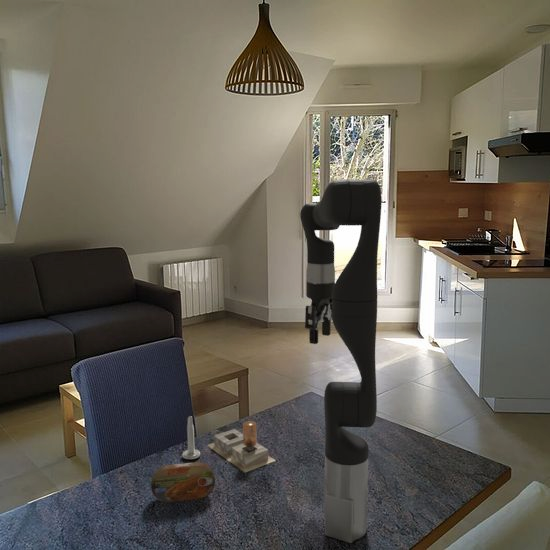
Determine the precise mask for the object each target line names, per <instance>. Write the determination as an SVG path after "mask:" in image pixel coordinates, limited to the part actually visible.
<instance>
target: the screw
mask: <svg viewBox="0 0 550 550" xmlns="http://www.w3.org/2000/svg"><path fill="white" fill-rule="evenodd" d="M193 422H194V421H193V416H191V415H189V416H188V417H187V426H186V431H187V432H186V434H187V435H186V436H187V437H186V438H187V449H186V450H185V451H183V452H182V458H183V459H186V460H189V461H190V460H195V459H198V458H199V457H200V456H201V452H200V450H199V449H195V426H194V424H193Z"/></svg>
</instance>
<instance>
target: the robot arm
mask: <svg viewBox="0 0 550 550" xmlns="http://www.w3.org/2000/svg"><path fill="white" fill-rule="evenodd" d="M382 198H383V197H382V190H381V186H380V184H379V182H378V181H377V180H375V179H364V178H363V179H361V178H360V179H345V178H344V179H343V178H341V179H335V180H333V181H331V182H330V183H328V185H327V186H326V188H325V190H324V192H323V195H322V197H321V200H320V201H318V202H309V203H305V204H304V205H303V206H302V207H301V210H300V215H299V216H300V217H299V218H300V221H301V225H302V229H303V232H304V237H305V240H306V249H307V251H306V252H307V253H306V255H307V256H306V257H307V263H306V270H305V271H306V272H305V273H306V275H305V276H306V278H305V279H306V280H305V282H306V283H305V285H306V286H305V289H306V291H305V295H306V297H307V298H308V299H310V300H311V304H310V305H306V306H305V318H304V319H305V320H304V321H305V322H304V328H305V329H308V330H309V332H308V333H309V334H308V335H309V336H308V338H309V344H312V345H317V344H319V328H320V327H319V326H320V324H321V335H323V336H327V337H329V336H330V335H331V328H332V327H331V322H332V324H333V326H334V329H335V330H336V332H337V334H338V336H339V337H340V339H341V340H342V342H343V343H344V345H345V346H346V348H347V350H348V351H349V352H350V354H351V356H352V358H353V361H354V362H355V364H356V366H357V369H358V371H359V375H360V382H359V381H358V382H355V381H353V382H352V381H330V382H328V383H327V384H326V386H325V388H324V389H325V390H324V396H323V403H324V405H323V407H324V409H323V410H324V424H325V426H324V427H325V428H324V429H325V434H324V435H325V437H324V438H325V440H324V441H325V442H324V504H323V505H324V509H323V510H324V514H323V515H324V519H323V521H324V525H323V526H324V536H326V537H330V538H332V539H336V540H339V541H342V542H345V543H349V544H352V543H353V542H354V541H356V540H359V539H361V538H362V537H364V536H365V535H366V534H367V529H368V527H367V526H368V490H369V489H368V488H369V487H368V484H369V483H368V479H369V478H368V477H369V445H368V442H367V441H366V439H365V438H362V437H361V436H359V434H358V435H357V434H355V433H354V432H351V431H348V430H347V429H345V428H371V427H372V426H373V425H374V424H375V422H376V419H377V410H378V408H377V407H378V406H377V405H378V404H377V403H378V401H377V400H378V399H377V398H378V397H377V396H378V395H377V375H376V374H377V373H376V372H377V371H376V340H377V339H376V338H377V321H378V320H377V319H378V252H379V251H378V250H379V239H380V229H381V228H380V227H381V219H382V218H381V217H382V205H383V204H382V202H383V201H382ZM340 226H361V227H360V228H361V229H360V235H359V239H358V242H357V246H356V248H355V250H354V252H353V254H352V255H351V257H350V259H349V260H348V262H347V263H346V265H345V267H344V268H343V270H342V271H341V272H340V274H339V276H338V278H337V279H336V268H335V244H334V241H332V240H331V239H326V238H321V237H318V236H317V234H316V231H336V230H338V229H339V228H340Z"/></svg>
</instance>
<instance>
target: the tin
mask: <svg viewBox="0 0 550 550" xmlns="http://www.w3.org/2000/svg"><path fill="white" fill-rule="evenodd" d="M215 485H216V478H215V474H214V471H213V469H212V467H210V466H209V465H208V464H207V463H205V462H200V461H195V462H184V463H175V464H166V465H163V466H161V467H159V468H158V469H157V470H156V471H155V472H154V474H153V477H152V479H151V483H150V489H151V493H152V494H153V496H154V498H156V499H157V500H158V501H161V502H164V503H173V502H174V503H175V502H183V501H190V500H191V501H194V500H200V499H203V498H206V497H208V496H209V494H211V493H212V491H213V490H214V487H215Z"/></svg>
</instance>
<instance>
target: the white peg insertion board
mask: <svg viewBox="0 0 550 550" xmlns="http://www.w3.org/2000/svg"><path fill="white" fill-rule="evenodd" d="M206 446H207V447H208V448H210V449H211V450H212V451H215V452H216V453H217V454H218V455H220V456H222V457H223V458H224V459H225V460H226V461H228V462H229V463H231V464H232V465H234V466H235V467H236V468H238V469H240V471H242V472H243V473H248V472H250V471H253V470H256V469H259V468H261V467H264V466H265V465H268V464H271V463H273V462H275V461H277V460H276V459H274V458H273V457H271V456H270V455H269V449H267V448H266V447H264V446H263V445H262V444H260V443H258V442H257V444H256V445H255V446H254V451H251V452H249V453H248V452H247V451H246V446H245V445H244V444H243V432H241V431H239V430H237V429H236V428H233V429H230V430H227V431H224V432H220V433H218V434H215V435H213V443H210V444H207V445H206Z"/></svg>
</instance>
